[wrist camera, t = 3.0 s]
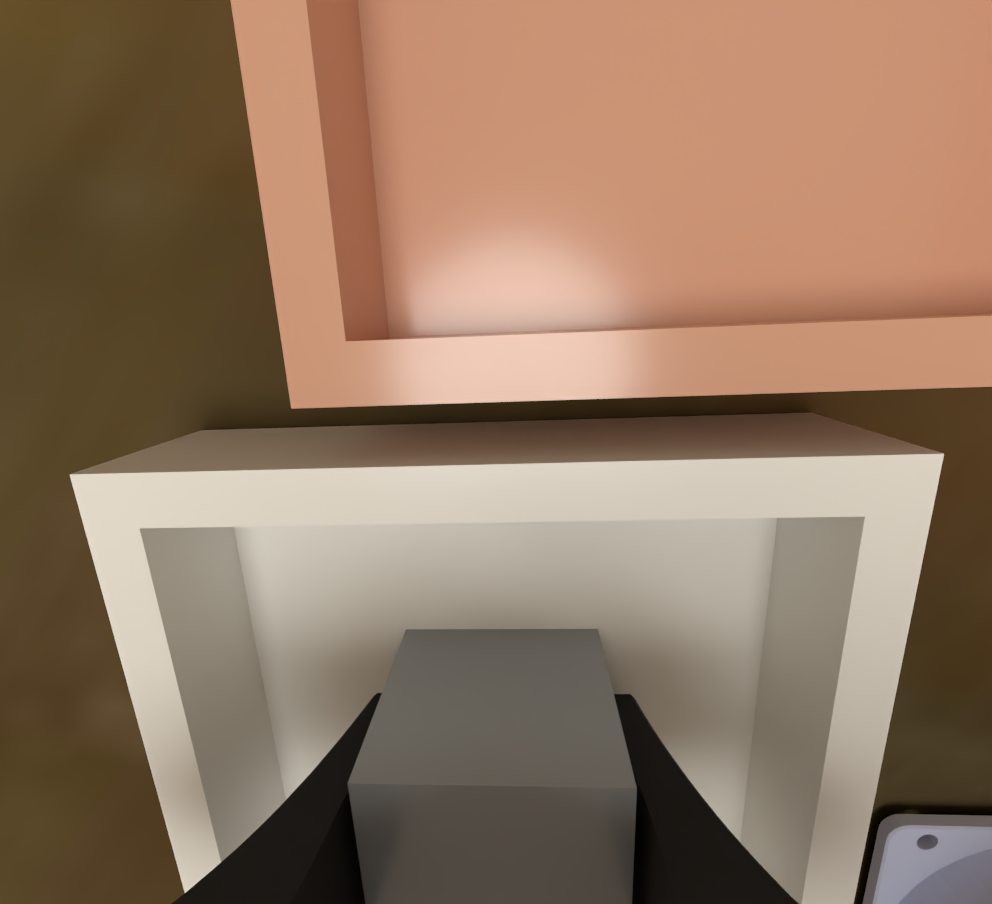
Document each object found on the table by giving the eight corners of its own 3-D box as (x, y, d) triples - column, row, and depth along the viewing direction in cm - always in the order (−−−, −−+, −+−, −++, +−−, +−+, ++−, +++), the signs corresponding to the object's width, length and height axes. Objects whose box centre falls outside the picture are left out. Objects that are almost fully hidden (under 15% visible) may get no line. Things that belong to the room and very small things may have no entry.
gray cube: (597, 628, 11) (637, 788, 7) (595, 782, 12) (628, 990, 9) (406, 629, 12) (347, 783, 8) (421, 780, 13) (376, 980, 9)
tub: (811, 412, 11) (943, 453, 7) (752, 882, 14) (823, 1056, 11) (201, 430, 12) (69, 474, 8) (288, 870, 15) (222, 1026, 12)
